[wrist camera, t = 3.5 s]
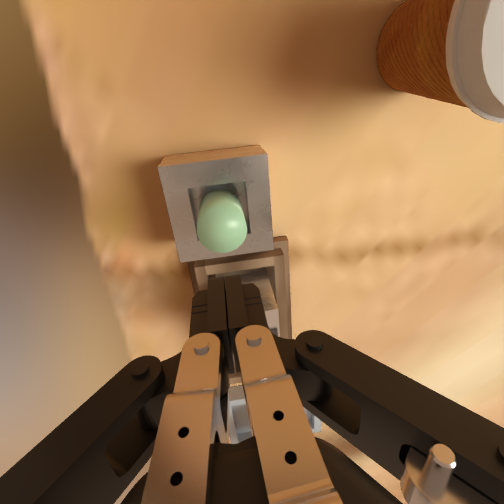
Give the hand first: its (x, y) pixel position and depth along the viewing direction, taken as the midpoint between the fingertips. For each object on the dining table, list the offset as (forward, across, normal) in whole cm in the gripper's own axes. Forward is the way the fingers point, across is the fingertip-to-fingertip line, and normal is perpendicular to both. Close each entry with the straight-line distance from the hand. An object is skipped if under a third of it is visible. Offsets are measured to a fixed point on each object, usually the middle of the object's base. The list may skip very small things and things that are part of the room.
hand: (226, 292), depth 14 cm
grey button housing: (+15, 0, 0) cm, 15 cm away
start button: (+11, 0, 0) cm, 11 cm away
